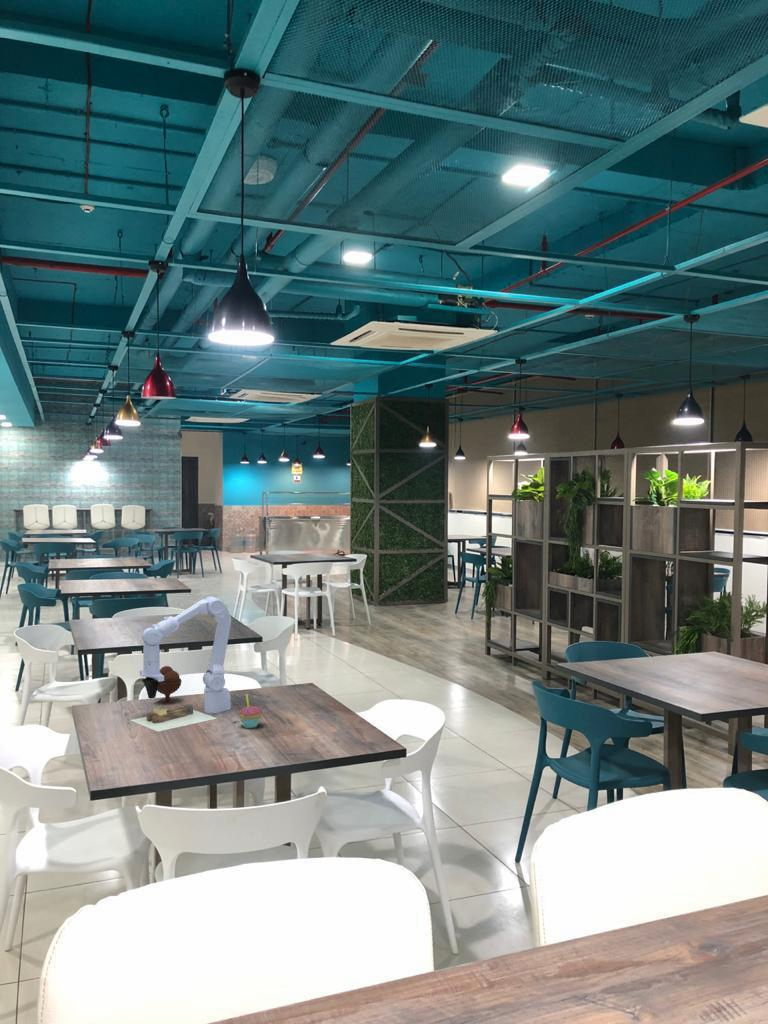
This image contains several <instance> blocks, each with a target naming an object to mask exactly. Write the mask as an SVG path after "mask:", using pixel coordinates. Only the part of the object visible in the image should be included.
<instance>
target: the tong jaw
mask: <svg viewBox="0 0 768 1024" xmlns="http://www.w3.org/2000/svg"><path fill="white" fill-rule="evenodd" d="M186 715H188V709H186V708H184V707H183V709H178V710H174V711H170V712H167V714H165V715H161V716H158V715H153V716H152V722H153V723H157V722H162V721H166V720H170V719H174V718H178V717H182V716H186Z"/></svg>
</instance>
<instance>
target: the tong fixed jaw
mask: <svg viewBox="0 0 768 1024" xmlns="http://www.w3.org/2000/svg"><path fill="white" fill-rule="evenodd" d="M183 708H186V709H188V715H191V714H193V710H194V704H185V705H184V707H182V706H178V707H174V708H168V709H167V712H170V711H174V710H178V709H183ZM153 715H156V714H154V711H152V712H149V713H146V717H147V721H149V722H150V721H152V716H153Z"/></svg>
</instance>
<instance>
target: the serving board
mask: <svg viewBox="0 0 768 1024" xmlns="http://www.w3.org/2000/svg"><path fill="white" fill-rule="evenodd" d="M215 719H218V718H217V717H215V716H212V715H209V714H207V713H205V712H204V713H203V712H201V711H199V710H195V709H193V714H191V715H186V716H182V717H178V718H174V719H170V720H166V721H162V722H157V723H153V722H152V721H150V722H149V721H147V716H144V717H138V718H135V719H134V718H133V719H130V721H131V722H133V723H136V724H138V725H141V726H143V727H145V728H147V729H150V730H152V731H155V732H163V731H167V730H171V729H175V728H181V727H186V726H190V725H194V724H199V723H204V722H207V721H212V720H215Z"/></svg>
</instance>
